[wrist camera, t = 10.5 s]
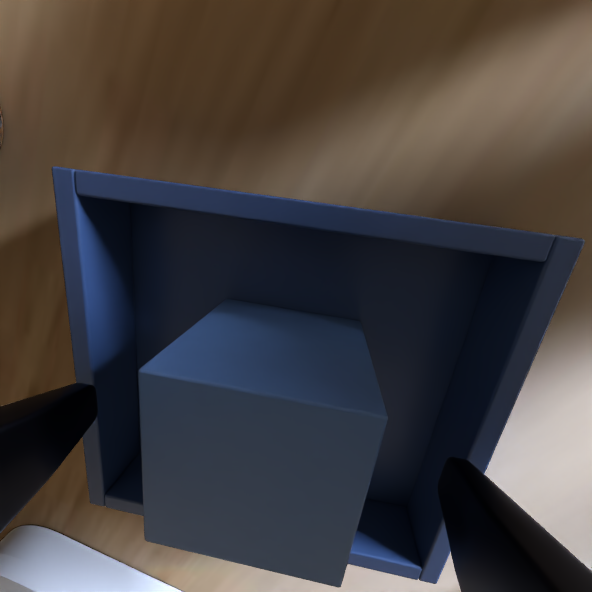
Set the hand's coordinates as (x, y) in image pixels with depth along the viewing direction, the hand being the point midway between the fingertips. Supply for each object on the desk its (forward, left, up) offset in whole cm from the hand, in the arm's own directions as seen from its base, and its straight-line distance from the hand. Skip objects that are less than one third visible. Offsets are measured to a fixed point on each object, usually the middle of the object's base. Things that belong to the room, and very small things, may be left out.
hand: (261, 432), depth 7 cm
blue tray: (0, 0, -3) cm, 3 cm away
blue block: (0, 0, -3) cm, 3 cm away
